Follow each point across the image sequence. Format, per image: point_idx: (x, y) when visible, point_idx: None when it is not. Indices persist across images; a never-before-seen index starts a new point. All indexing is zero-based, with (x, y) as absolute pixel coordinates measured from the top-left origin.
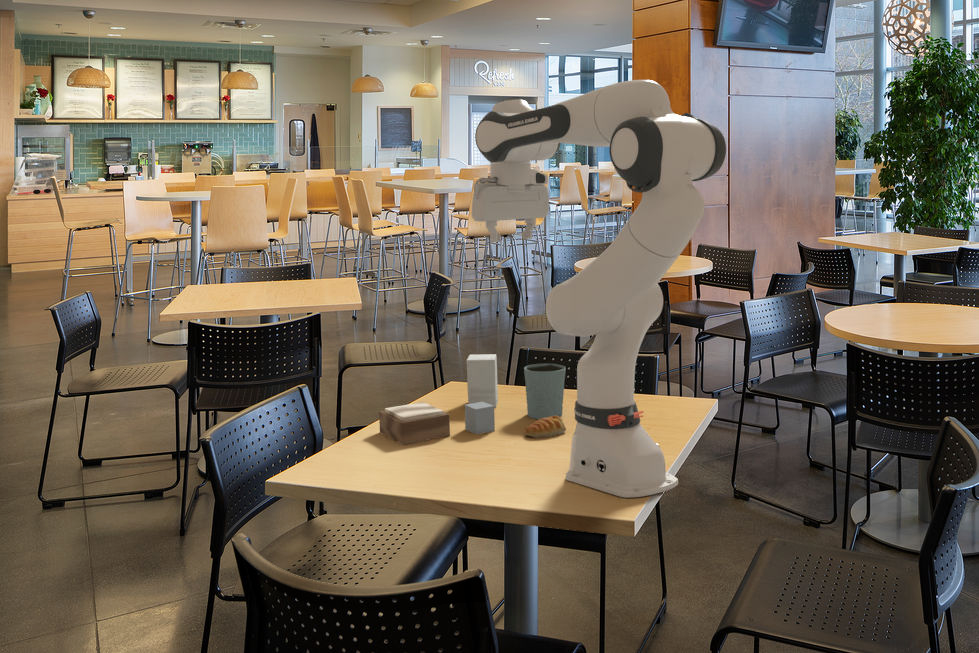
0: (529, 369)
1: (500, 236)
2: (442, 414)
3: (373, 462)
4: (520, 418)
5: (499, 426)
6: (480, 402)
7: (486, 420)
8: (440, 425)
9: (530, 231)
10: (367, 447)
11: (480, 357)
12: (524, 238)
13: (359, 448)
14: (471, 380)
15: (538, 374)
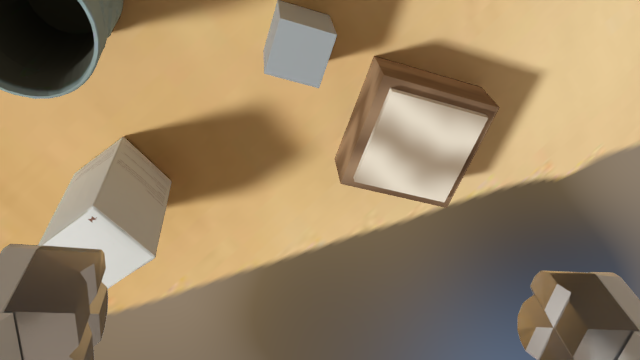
0: (48, 87)
1: (571, 304)
2: (393, 87)
3: (605, 45)
4: (148, 22)
5: (241, 16)
6: (276, 71)
7: (302, 15)
8: (402, 73)
9: (3, 307)
10: (527, 127)
11: (106, 249)
12: (98, 290)
13: (539, 134)
14: (156, 213)
15: (90, 4)
